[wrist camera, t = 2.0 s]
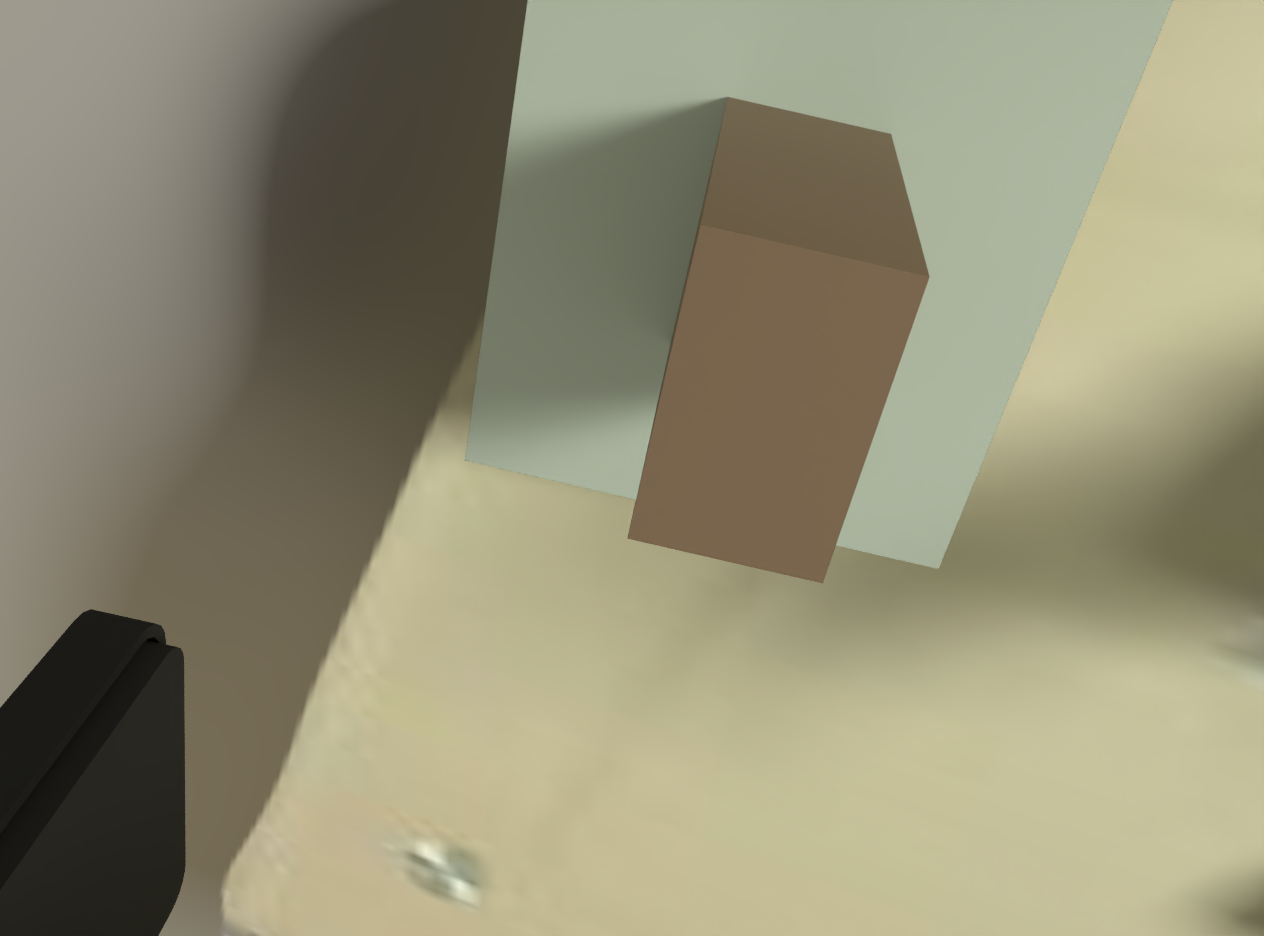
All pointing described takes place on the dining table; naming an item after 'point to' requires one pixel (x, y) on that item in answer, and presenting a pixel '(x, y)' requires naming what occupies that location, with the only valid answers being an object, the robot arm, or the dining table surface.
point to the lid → (788, 255)
